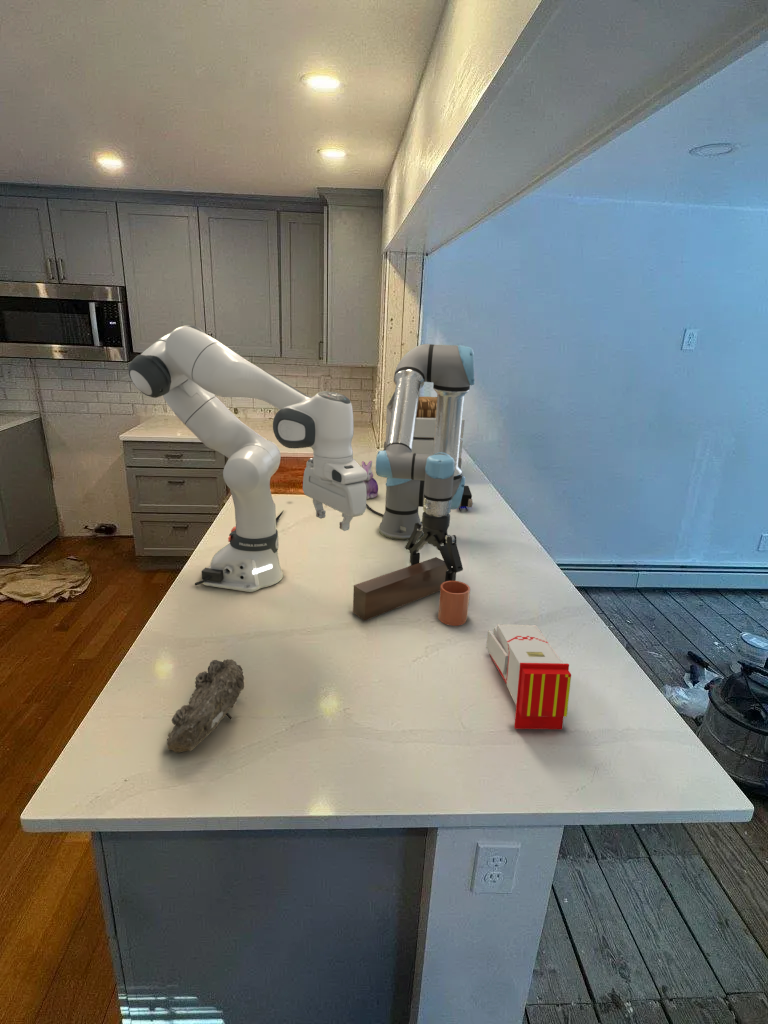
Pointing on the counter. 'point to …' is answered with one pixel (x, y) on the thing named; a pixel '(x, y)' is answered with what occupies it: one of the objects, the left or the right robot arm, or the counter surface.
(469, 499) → the figurine character
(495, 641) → the toy
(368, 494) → the figurine
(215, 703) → the fossil
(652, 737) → the counter surface
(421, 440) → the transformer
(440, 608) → the terracotta cup
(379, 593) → the walnut bar
